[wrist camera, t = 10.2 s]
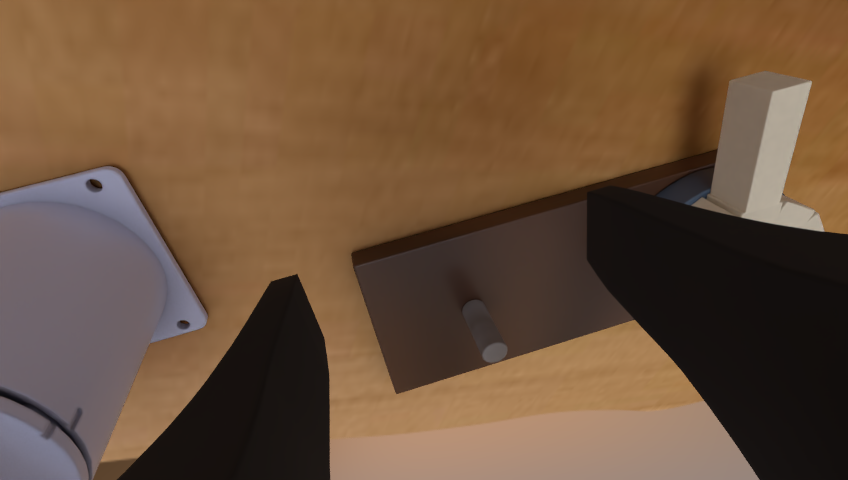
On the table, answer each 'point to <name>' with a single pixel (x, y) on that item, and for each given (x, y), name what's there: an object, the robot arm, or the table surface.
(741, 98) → the ring
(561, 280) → the rack
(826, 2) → the table surface
